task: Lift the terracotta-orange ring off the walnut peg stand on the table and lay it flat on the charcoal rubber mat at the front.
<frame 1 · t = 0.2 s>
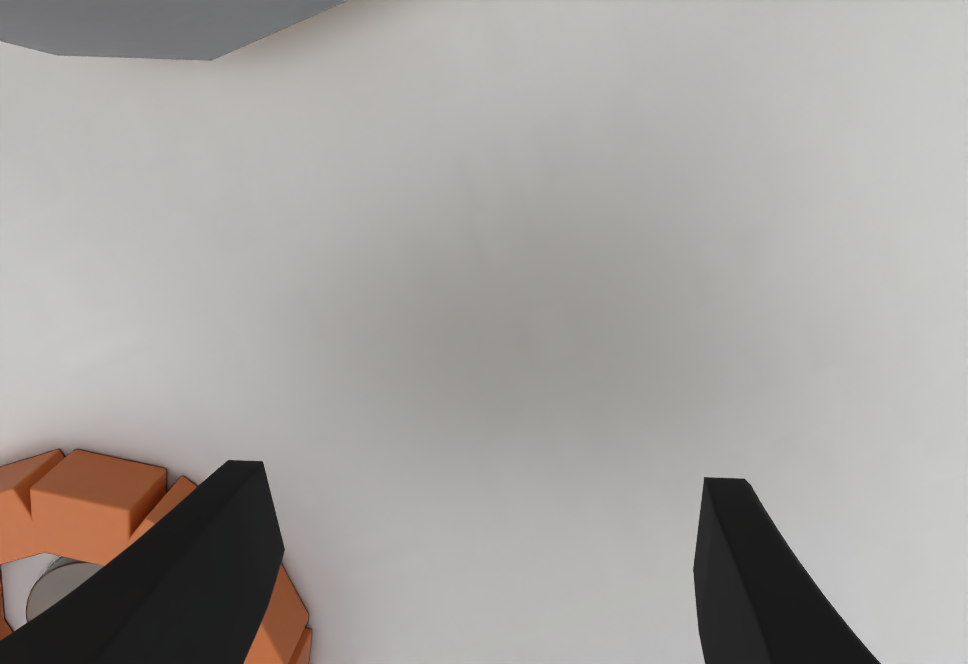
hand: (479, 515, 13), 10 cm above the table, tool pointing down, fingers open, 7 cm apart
ring: (123, 620, 29), on the table
peg stand: (123, 620, 29), on the table
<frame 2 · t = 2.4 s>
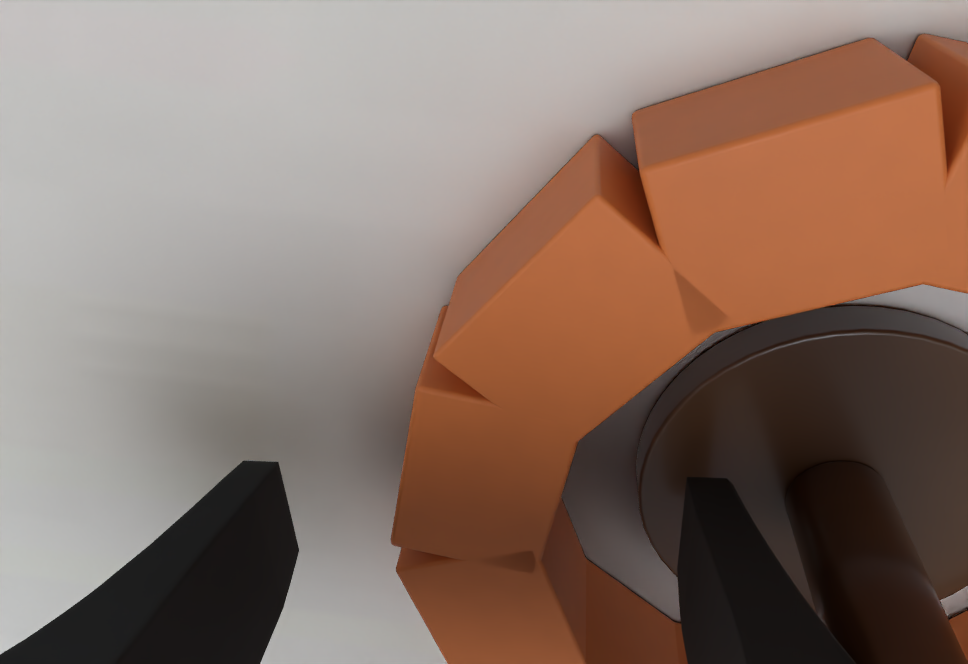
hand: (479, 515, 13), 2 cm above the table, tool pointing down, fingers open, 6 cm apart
ring: (823, 465, 14), on the table
peg stand: (823, 465, 14), on the table
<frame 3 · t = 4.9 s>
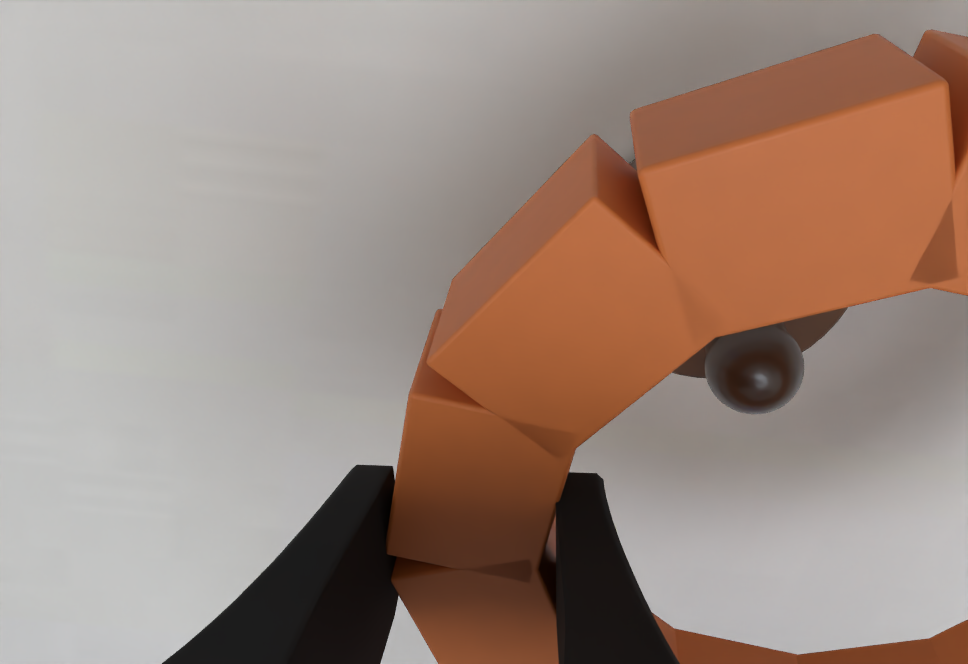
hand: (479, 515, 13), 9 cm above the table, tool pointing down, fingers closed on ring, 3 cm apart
ring: (826, 470, 14), point 7 cm above the table, touching gripper
peg stand: (718, 252, 20), on the table
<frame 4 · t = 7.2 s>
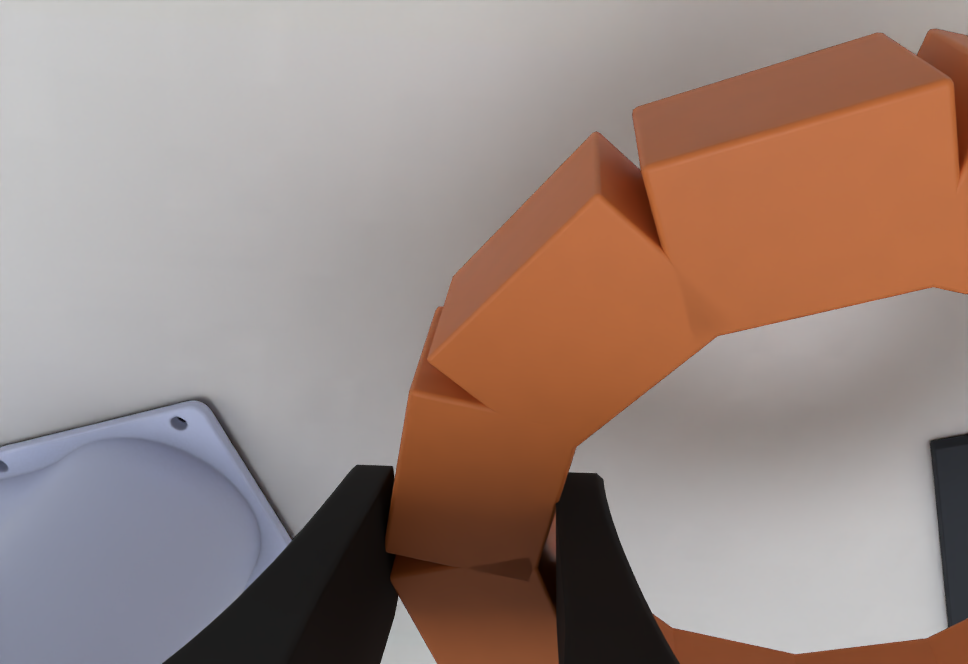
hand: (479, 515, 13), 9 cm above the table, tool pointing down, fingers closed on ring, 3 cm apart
ring: (825, 470, 14), point 8 cm above the table, touching gripper
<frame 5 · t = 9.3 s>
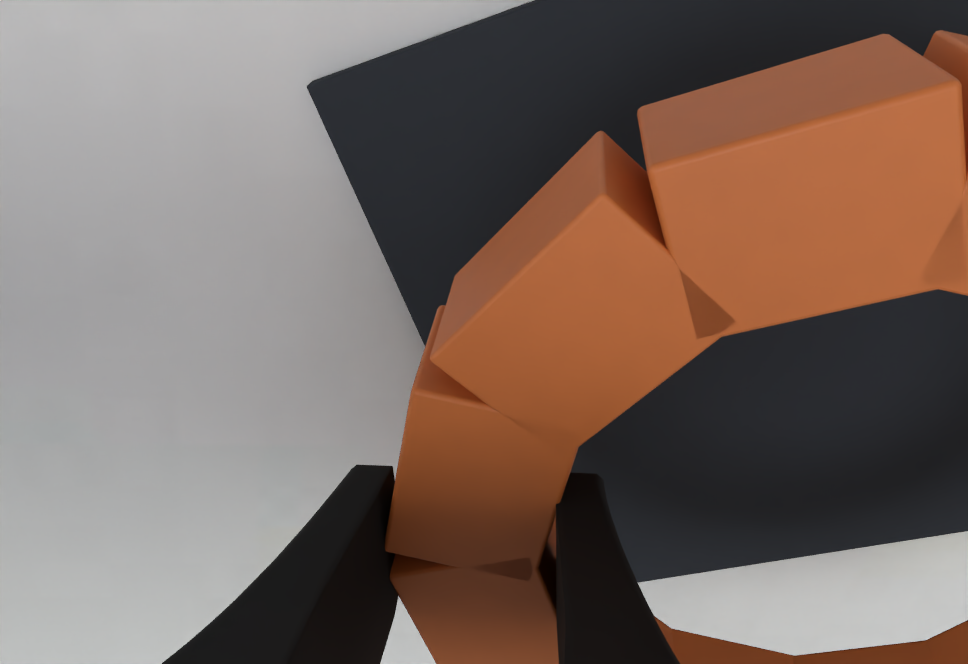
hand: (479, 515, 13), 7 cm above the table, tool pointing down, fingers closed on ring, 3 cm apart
mat: (762, 303, 19), on the table
ring: (826, 471, 14), point 6 cm above the table, touching gripper
when the fingers open (2 cm above the table, at t = 11.0 s): ring stays where it is, resting on mat.
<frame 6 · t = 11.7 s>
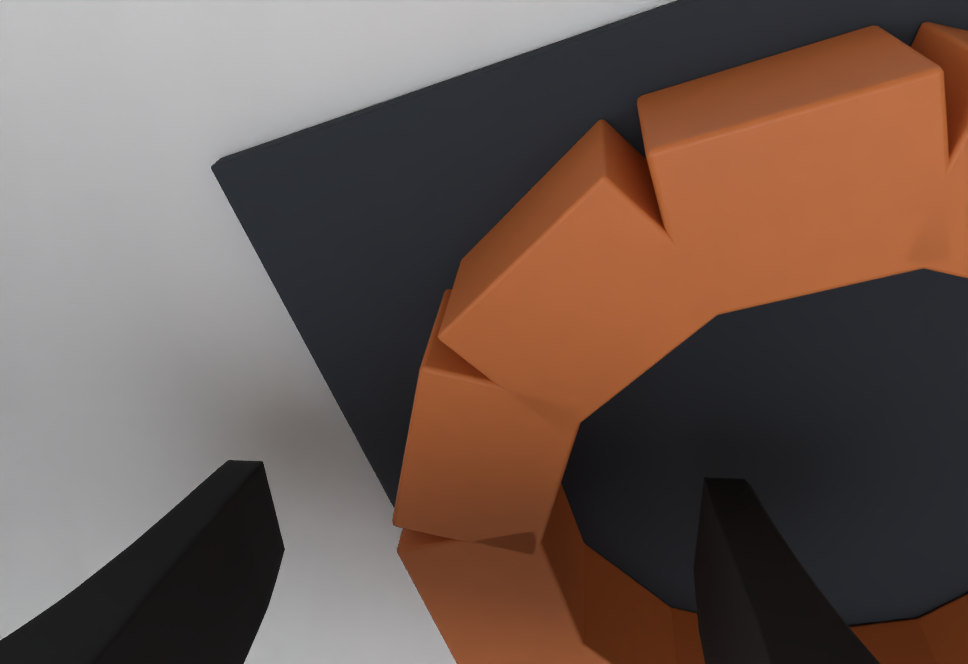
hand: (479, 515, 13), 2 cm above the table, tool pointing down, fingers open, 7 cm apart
mat: (812, 437, 15), on the table
ring: (820, 451, 14), resting on mat
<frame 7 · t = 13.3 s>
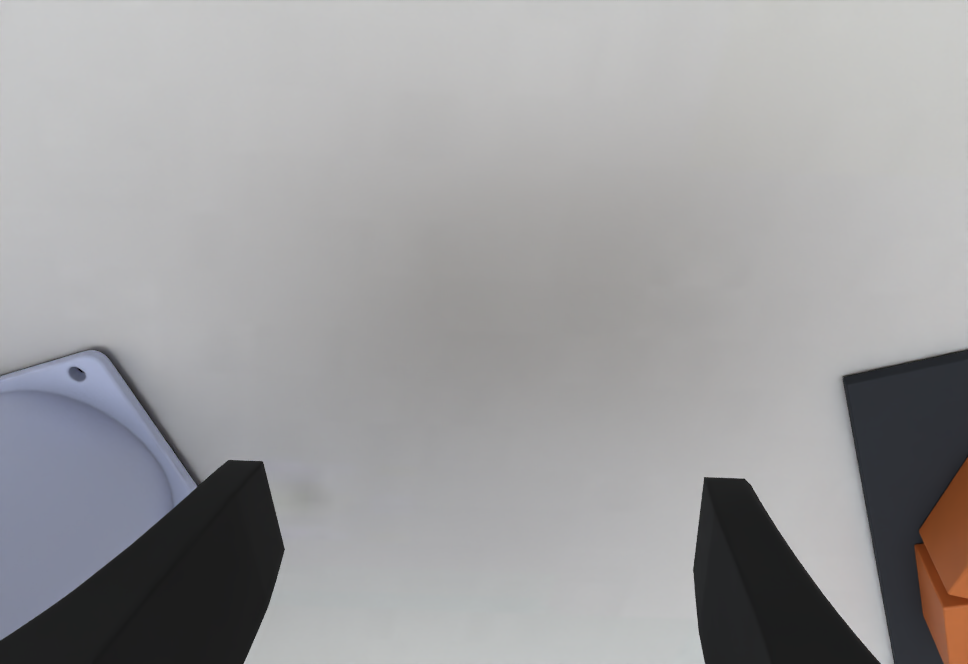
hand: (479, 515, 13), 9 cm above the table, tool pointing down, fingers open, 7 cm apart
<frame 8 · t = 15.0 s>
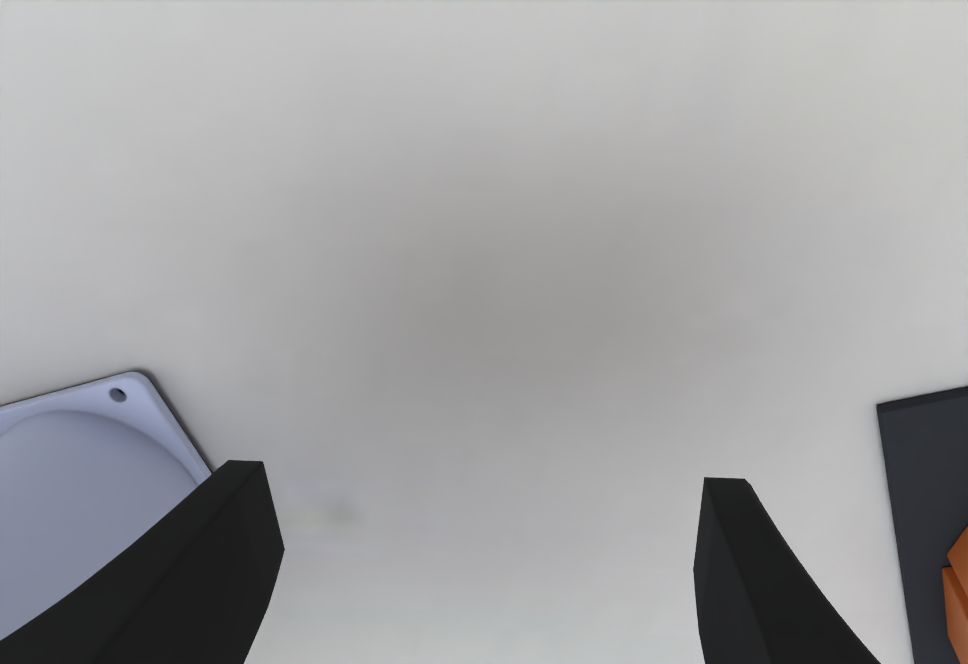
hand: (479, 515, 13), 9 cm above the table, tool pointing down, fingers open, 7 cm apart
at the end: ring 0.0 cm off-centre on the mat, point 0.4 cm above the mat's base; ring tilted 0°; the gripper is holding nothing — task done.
